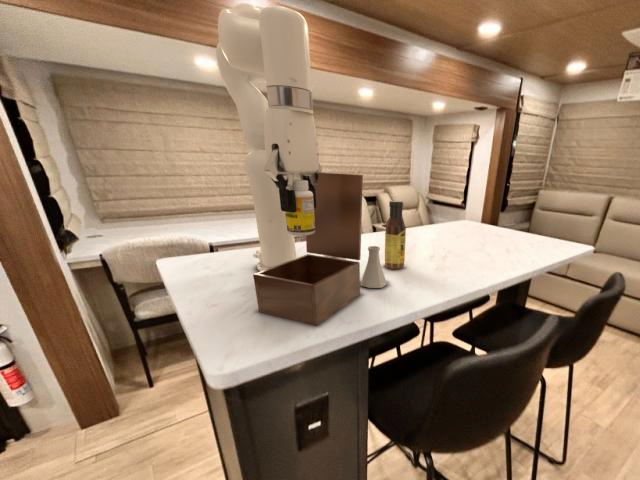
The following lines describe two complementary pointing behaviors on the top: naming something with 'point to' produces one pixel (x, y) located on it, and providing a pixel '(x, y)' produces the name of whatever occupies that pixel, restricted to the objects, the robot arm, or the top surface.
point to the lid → (337, 216)
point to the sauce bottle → (395, 237)
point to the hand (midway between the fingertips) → (299, 208)
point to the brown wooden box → (307, 288)
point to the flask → (373, 270)
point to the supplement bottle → (301, 211)
